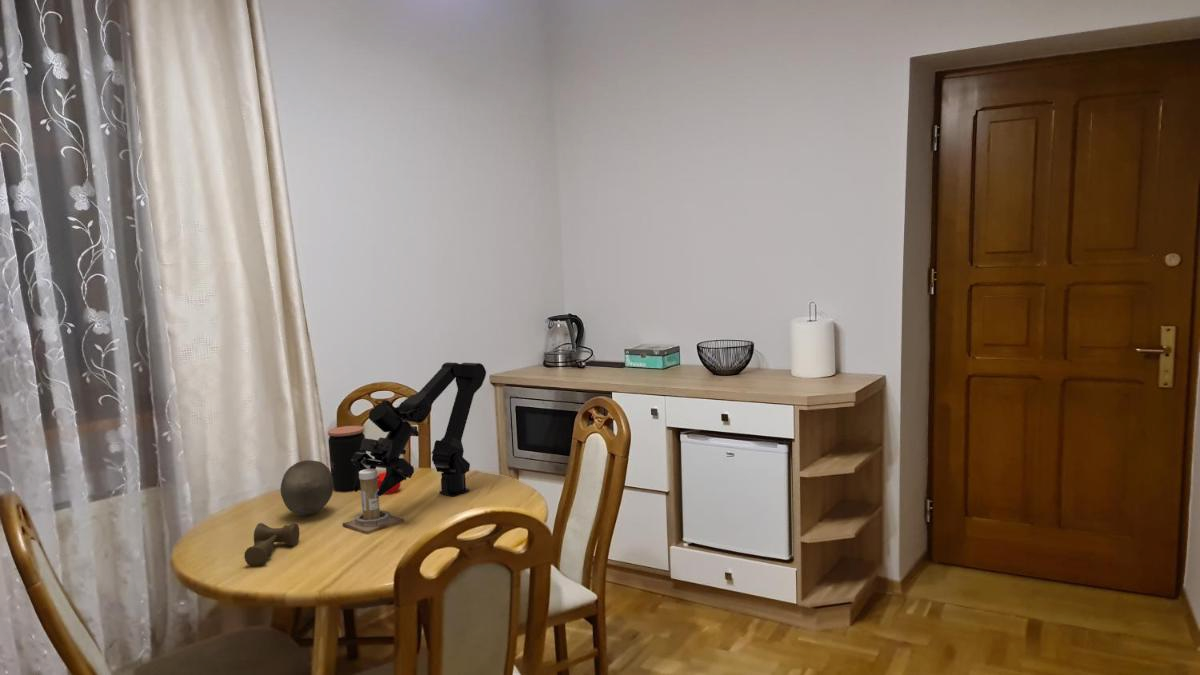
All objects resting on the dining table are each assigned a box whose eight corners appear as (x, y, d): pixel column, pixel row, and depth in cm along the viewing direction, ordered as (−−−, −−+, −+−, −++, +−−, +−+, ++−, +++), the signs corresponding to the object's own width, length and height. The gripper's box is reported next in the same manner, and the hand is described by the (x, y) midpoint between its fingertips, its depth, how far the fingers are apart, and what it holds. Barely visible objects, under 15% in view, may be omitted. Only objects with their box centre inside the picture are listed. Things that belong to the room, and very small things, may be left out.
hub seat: (378, 514, 215) (377, 506, 215) (403, 521, 208) (402, 513, 208) (342, 526, 207) (342, 518, 206) (367, 534, 200) (366, 525, 200)
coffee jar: (342, 482, 249) (337, 425, 247) (374, 481, 248) (370, 425, 246) (326, 492, 239) (320, 433, 237) (359, 492, 237) (354, 433, 235)
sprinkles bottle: (379, 522, 206) (375, 472, 204) (361, 524, 205) (357, 473, 204) (382, 517, 210) (378, 467, 209) (364, 518, 210) (360, 468, 208)
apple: (403, 469, 240) (377, 464, 237) (405, 479, 234) (378, 473, 231) (395, 490, 241) (369, 484, 238) (397, 500, 235) (371, 495, 232)
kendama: (234, 570, 181) (268, 537, 201) (276, 569, 182) (306, 536, 201) (232, 545, 181) (266, 514, 200) (274, 544, 181) (305, 513, 201)
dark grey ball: (270, 521, 214) (265, 466, 213) (310, 505, 227) (305, 453, 225) (309, 526, 208) (304, 470, 207) (348, 509, 221) (343, 456, 219)
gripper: (353, 422, 213) (322, 473, 205) (402, 428, 203) (371, 481, 195) (378, 444, 221) (350, 494, 213) (426, 451, 210) (398, 503, 202)
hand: (366, 493), depth 205 cm, fingers open, 9 cm apart
